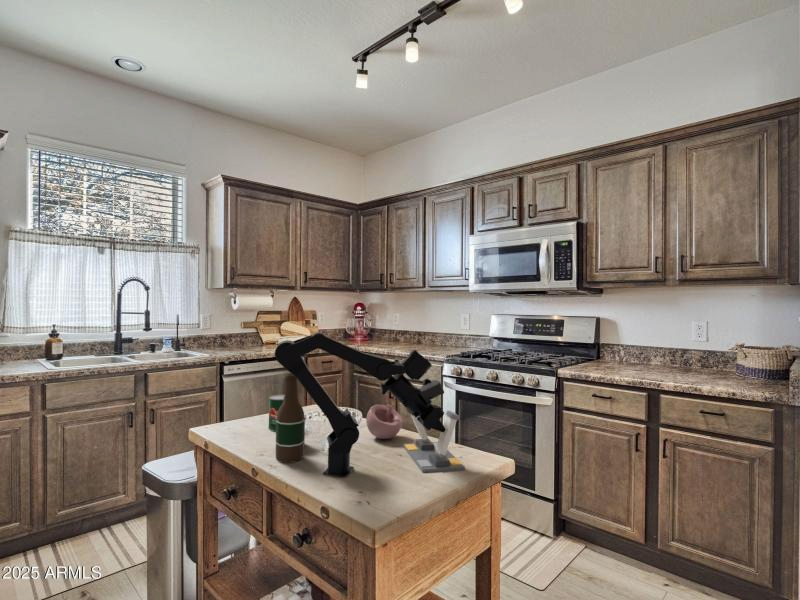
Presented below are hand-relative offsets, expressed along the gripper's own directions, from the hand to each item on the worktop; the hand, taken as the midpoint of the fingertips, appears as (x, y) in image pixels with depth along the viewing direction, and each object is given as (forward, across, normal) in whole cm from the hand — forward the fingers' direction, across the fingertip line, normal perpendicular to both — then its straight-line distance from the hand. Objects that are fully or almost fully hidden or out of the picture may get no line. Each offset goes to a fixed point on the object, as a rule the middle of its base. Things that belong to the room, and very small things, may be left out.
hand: (444, 431), depth 125 cm
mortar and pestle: (-1, +27, +15) cm, 31 cm away
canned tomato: (-25, +45, +38) cm, 64 cm away
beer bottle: (-23, +13, +36) cm, 45 cm away
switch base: (+6, +7, +8) cm, 12 cm away
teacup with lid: (-23, +26, +36) cm, 50 cm away
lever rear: (+4, +14, +5) cm, 15 cm away
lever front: (+4, 0, +5) cm, 6 cm away
